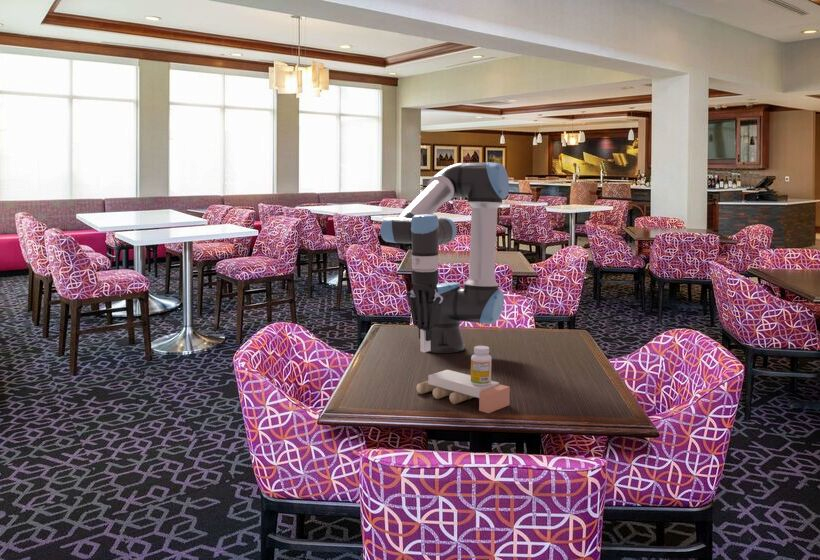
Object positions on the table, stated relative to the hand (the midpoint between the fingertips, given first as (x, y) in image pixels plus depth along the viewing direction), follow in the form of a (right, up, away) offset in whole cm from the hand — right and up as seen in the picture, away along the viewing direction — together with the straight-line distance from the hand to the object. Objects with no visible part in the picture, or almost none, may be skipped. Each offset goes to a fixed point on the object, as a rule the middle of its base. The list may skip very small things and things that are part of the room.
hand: (425, 350), depth 196 cm
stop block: (+18, -13, -18) cm, 28 cm away
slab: (+10, -9, -11) cm, 17 cm away
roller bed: (+6, -11, -8) cm, 15 cm away
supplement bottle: (+14, -7, -16) cm, 22 cm away
